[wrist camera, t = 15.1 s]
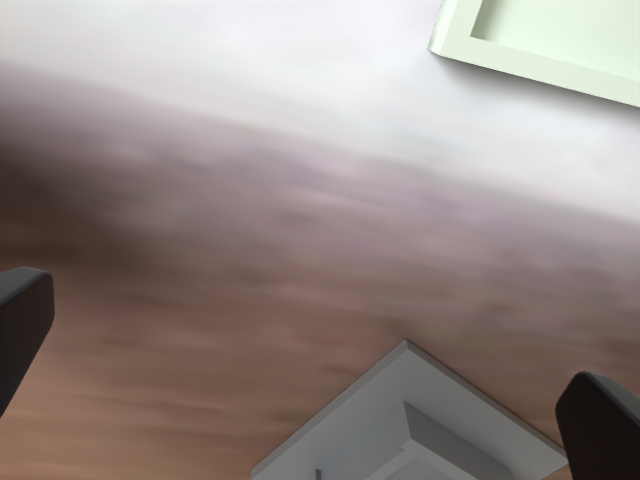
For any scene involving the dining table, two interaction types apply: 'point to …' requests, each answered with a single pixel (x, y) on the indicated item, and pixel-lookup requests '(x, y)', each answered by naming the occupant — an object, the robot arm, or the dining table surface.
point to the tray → (548, 42)
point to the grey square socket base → (412, 431)
